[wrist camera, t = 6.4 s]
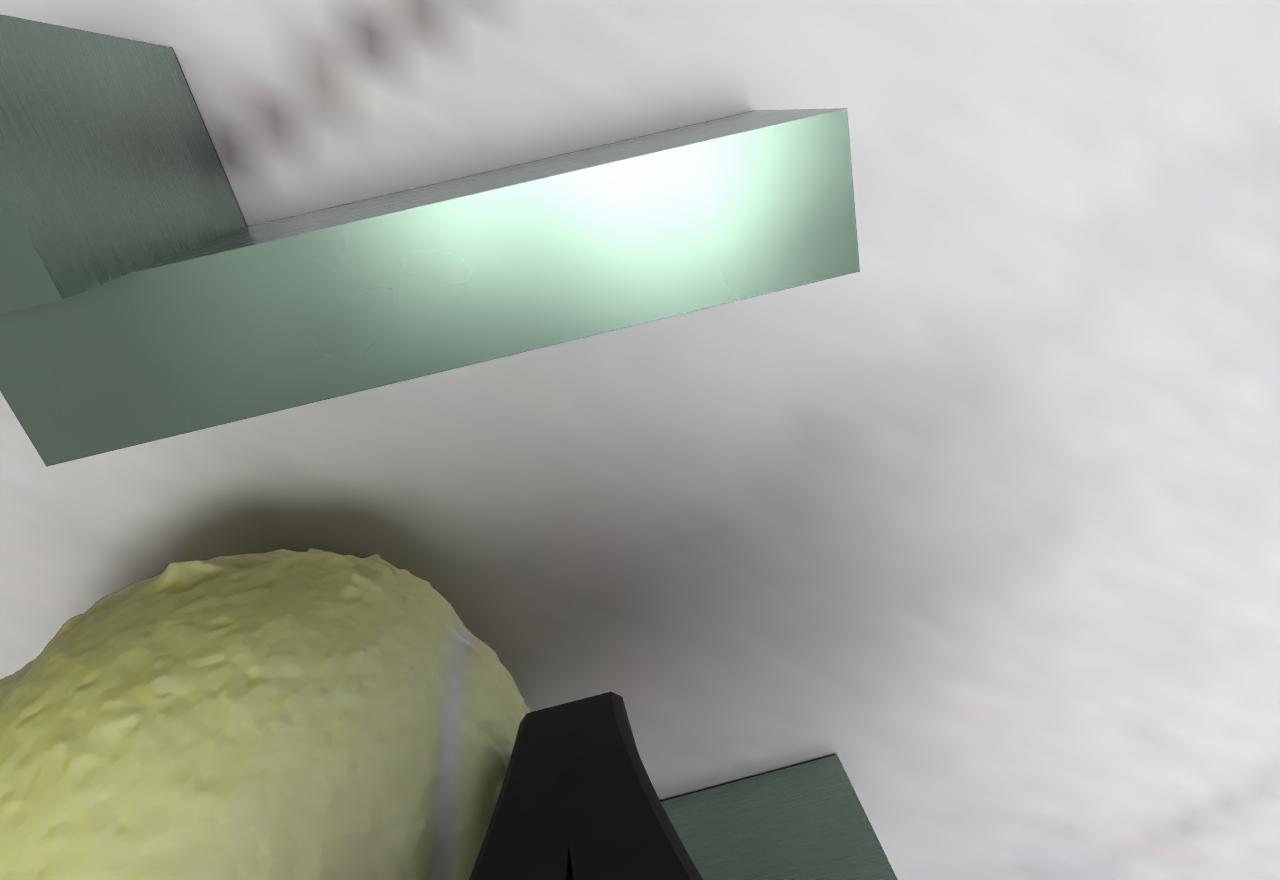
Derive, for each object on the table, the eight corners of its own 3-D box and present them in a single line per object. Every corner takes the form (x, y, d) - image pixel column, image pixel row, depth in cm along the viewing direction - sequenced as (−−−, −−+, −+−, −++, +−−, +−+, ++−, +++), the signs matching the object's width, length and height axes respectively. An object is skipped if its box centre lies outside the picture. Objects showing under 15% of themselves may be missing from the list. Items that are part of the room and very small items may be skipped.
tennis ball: (-196, 1459, 6) (572, 1309, 7) (-568, 830, 5) (502, 708, 5) (166, 864, 13) (562, 814, 13) (64, 494, 11) (528, 456, 12)
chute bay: (851, 872, 16) (949, 1100, 12) (-83, 1129, 15) (-280, 1457, 11) (731, -74, 9) (879, -215, 5) (-1064, 317, 8) (-2449, 491, 4)
